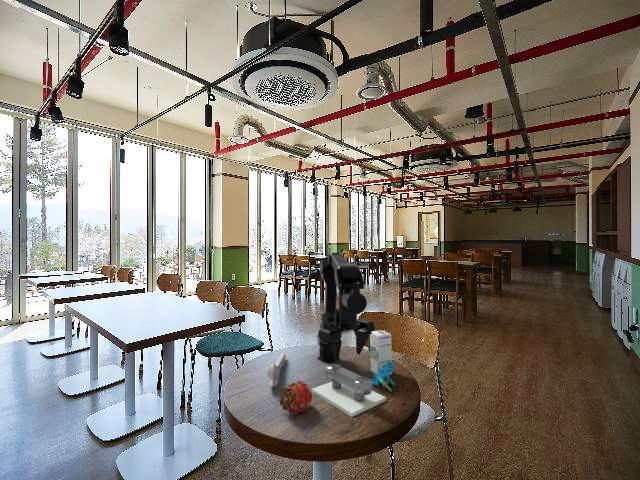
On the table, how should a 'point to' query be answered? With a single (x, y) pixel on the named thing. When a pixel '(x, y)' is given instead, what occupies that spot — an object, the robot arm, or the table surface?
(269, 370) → the wrench
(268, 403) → the table surface
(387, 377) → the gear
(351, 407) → the peg board
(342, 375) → the ball-ended metal rod
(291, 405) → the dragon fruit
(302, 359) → the table surface
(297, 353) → the table surface
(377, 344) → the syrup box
